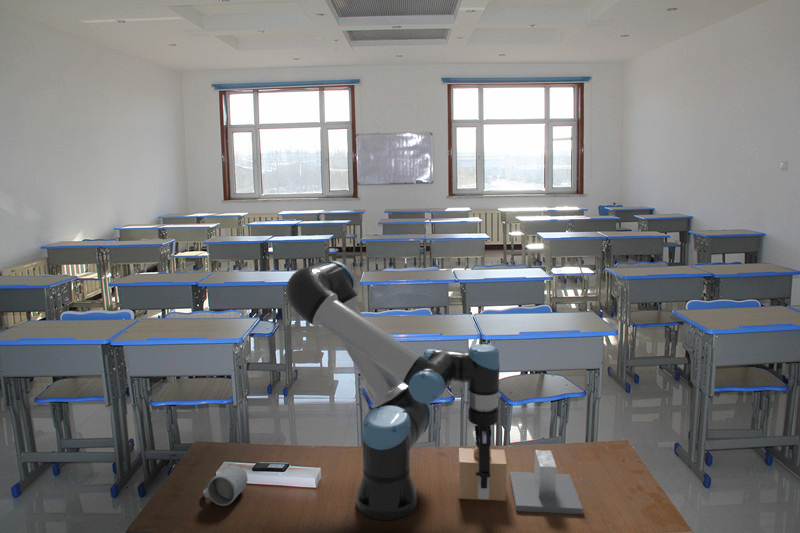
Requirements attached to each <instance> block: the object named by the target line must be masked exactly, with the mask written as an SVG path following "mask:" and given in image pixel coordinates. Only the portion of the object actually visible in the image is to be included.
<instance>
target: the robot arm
mask: <svg viewBox="0 0 800 533" xmlns="http://www.w3.org/2000/svg"><path fill="white" fill-rule="evenodd" d="M355 284H356V283H355V277H354V275H353V273H352V271H351V269H350V268H349V267H348V266H346V264H344V263H342V262H340V261H337V260H327V261H326V260H325V261H320V262H319V263H316V264H313V265H310V266H307V267H303V268H300V269H298V270H297V271H295V272H294V273H293V274H292V275H291V276H290V278H289V279H288V281H287V285H286V298H287V301H288V303H289V305H290V306H291V308H292V309H293V310H294V312H296V314H298V315H299V316H300V317H301V318H302V319H304V321H306V322H307V323H309V324H310V325H312V326H313V327H320V326H321V327H322V328H323V329H325V330H326V331H328V332H330V333H331V334H332V335H334V336H335V337H337V338H338V339H339V341H340V342H341V343H342V345H343V347H344V348H345V350H346V352H347V353H348V356H349V357H350V359H351V361H352V362H353V364H354V366H355V367H356V370H358V373H359V374H360V377H362V379H363V380H364V382H365V384H366V386H367V388H368V389H369V391H370V392H371V393H370V394H372V397H373V398H374V399H373V404H372V408H373V409H371V410H369V411H368V412H367V413H366V414H365V416H364V418H363V421H362V428H361V435H362V436H361V437H362V471H363V472H362V473H363V474H362V477H361V480H360V483H359V485H358V486H359V487H358V489H357V492H356V507H357V509H358V510H359V512H360V513H361V514H363V515H365V517H368V518H371V519H375V520H378V521H379V520H380V521H391V520H397V519H400V518H405V517H406V516H409V515H410V514H411V513H412V512H413V511H414V510H415V509H416V507H417V506H418V504H417V503H418V500H417V499H418V498H417V497H418V494H417V490H416V488H415V484H414V482H413V479H412V476H411V470H410V469H411V467H410V466H411V449H412V448H413V447H414V445H415V444H416V443H417V441H418V440H419V439H420V438H421V436H422V435H424V433H425V432H426V431H427V429H428V427H429V424H430V423H431V419H432V406H431V403H434V402H435V401H436V400H437V399H438V398H440V396H442V395H443V394H444V392H445V390H446V389H447V387H448V386H449V385H450V384H451V383H452V382H460V383H468V391H467V392H468V396H467V397H468V398H467V400H468V401H467V403H468V410H467V412H468V413H467V414H468V416H467V418H468V421H469V422H470V423H471V424H473V425H474V431H475V432H474V434H475V447H478V448H479V472H476V475H478V499H477V500H479V499H489V477H490V449H491V448H490V447H491V437H492V429H491V426H493V425H496V424H497V423H498V422H499V407H498V406H499V398H501V397H502V394H501V393H499V392H500V391H499V390H500V388H499V387H500V386H499V385H500V367H501V364H500V352H499V349H498V348H497V347H495V346H494V345H491V344H486V343H481V344H479V343H478V344H474V345H472V346H470V347H469V350H468V351H467V352H466V351H457V350H456V351H455V350H448V349H443V348H427V349H426V350H424V352H423V355H422V356H421V355H420V354H418V353H417V352H415V351H414V350H412V349H411V348H409V347H408V346H406V345H405V344H403V343H402V342H400V341H399V340H397V339H396V338H395V337H393V336H392V335H390V334H389V333H388V332H386V331H384V330H382V329H381V328H380V327H378V326H377V325H376V324H374V323H372V322H371V321H369V320H368V319H367V318H365V317H364V315H363V313H362V312H361V310H360V309H359V307H358V305H357V304H358V300H359V296H358V295H357V292H356V291H355Z"/></svg>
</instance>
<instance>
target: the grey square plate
mask: <svg viewBox="0 0 800 533" xmlns="http://www.w3.org/2000/svg"><path fill="white" fill-rule="evenodd" d="M533 471H534V472H528V471H527V472H526V471H525V472H524V471H509V474H508V475H509V481H510V482H509V483H510V486H511V492H512V496H513V497H512V498H513V501H514V502H513V504H514V508H515V511H516V512H527V513H528V512H530V513H547V512H548V514H550V513H552V514H553V513H554V514H567V515H568V514H571V515H583V514H584V508H583V506H582V502H581V500H580V497H579V494H578V492H577V490H576V487H575V484H574V481H573V480H572V477H571V474H569V473H557V465H556V461H555V459H554V455H553V453H552V451H551V450H539V449H536V450H535V449H534V470H533Z"/></svg>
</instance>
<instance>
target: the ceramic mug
mask: <svg viewBox="0 0 800 533" xmlns="http://www.w3.org/2000/svg"><path fill="white" fill-rule="evenodd" d="M247 484H248V475H247V471H245V469H244V468H243V467H241V466H239V465H234V464H233V465H229V466H227V467H225V468H224V469H222V470H221V471H219V473H217V474H216V475H215V476H214V477H212V478H211V480H210V481H209V482H208V485H207V487H206V488H205V489H204V490H203V491H202V493H203V496H204V498H205V499H207V498H210V500H211V501H212V503H214V504H216V505H218V506H221V507H222V506H223V507H225V506H228V505H231V504H232V503H234V501H235V500H236V498H237V497H238V496H239V495H240V494H241V492H243V491H244V490H245V488H246V486H247Z"/></svg>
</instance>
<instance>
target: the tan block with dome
mask: <svg viewBox="0 0 800 533" xmlns="http://www.w3.org/2000/svg"><path fill="white" fill-rule="evenodd" d="M507 463H508V462H507V458H506V453H505V449H496V448H495V449H491V448H490V477H489V499H478V475H476V472H479V448H478V447H477V446H475V447H474V448H468V447H467V448H466V447H465V448H464V447H459V448H458V477H457V478H458V479H457V480H458V483H457V484H458V500H459V499H462V500H481V501H483V500H484V501H500V502H501V501H503V502H506V500H507V473H508V472H507V471H508V466H507V465H508V464H507Z"/></svg>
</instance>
